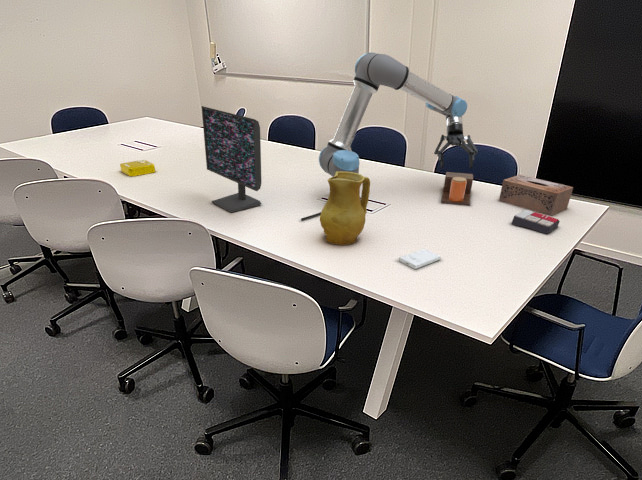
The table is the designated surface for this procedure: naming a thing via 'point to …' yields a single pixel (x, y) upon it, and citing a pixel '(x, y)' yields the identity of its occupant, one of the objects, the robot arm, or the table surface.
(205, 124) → the computer monitor
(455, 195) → the canister
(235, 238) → the table surface
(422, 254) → the hard drive
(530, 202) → the tissue box cover
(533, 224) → the grey and red box
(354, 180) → the pitcher
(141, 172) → the element tile
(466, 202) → the brown wooden step stand
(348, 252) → the table surface
